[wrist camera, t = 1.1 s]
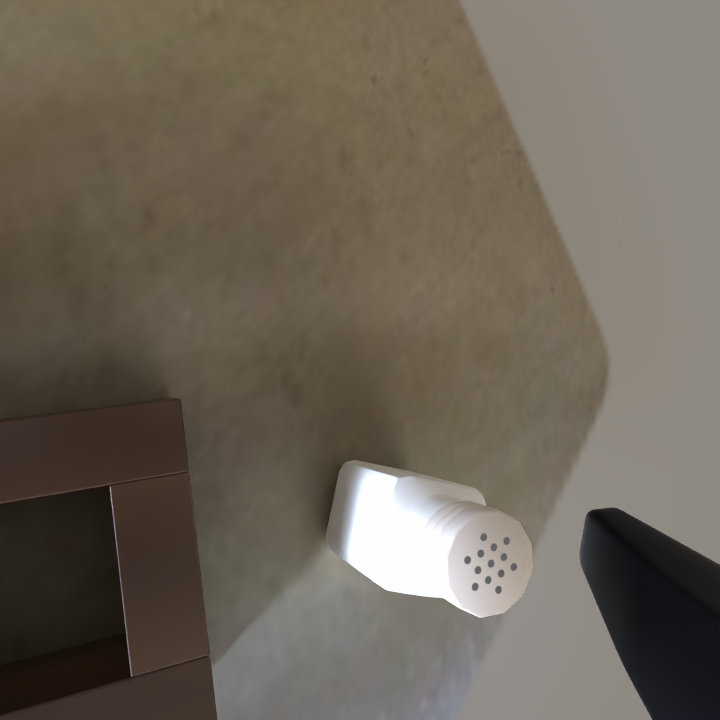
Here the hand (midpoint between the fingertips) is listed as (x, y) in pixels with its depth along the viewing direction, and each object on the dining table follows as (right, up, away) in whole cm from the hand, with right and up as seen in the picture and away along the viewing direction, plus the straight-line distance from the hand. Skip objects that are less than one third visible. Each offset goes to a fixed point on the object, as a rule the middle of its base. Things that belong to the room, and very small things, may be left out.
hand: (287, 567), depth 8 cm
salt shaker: (+1, -4, +18) cm, 19 cm away
